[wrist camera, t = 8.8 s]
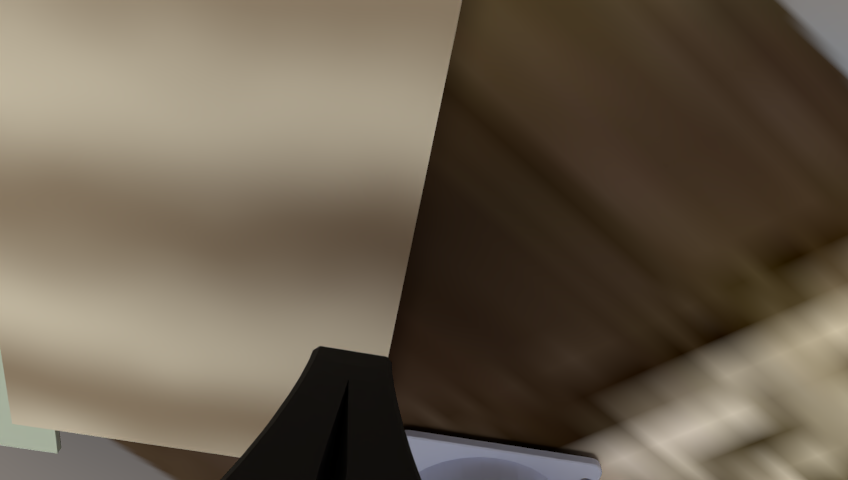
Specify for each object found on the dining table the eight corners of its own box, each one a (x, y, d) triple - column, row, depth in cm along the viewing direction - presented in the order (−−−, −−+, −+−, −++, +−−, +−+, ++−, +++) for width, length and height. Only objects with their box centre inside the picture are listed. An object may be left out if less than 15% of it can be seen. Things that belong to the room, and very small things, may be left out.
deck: (372, 398, 26) (363, 475, 22) (64, 351, 25) (12, 424, 22) (467, -70, 17) (472, -49, 14) (14, -164, 17) (-80, -162, 14)
